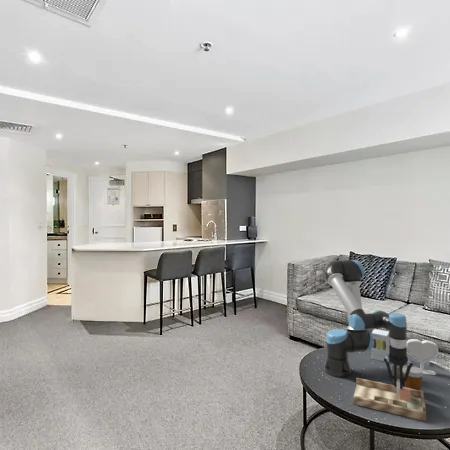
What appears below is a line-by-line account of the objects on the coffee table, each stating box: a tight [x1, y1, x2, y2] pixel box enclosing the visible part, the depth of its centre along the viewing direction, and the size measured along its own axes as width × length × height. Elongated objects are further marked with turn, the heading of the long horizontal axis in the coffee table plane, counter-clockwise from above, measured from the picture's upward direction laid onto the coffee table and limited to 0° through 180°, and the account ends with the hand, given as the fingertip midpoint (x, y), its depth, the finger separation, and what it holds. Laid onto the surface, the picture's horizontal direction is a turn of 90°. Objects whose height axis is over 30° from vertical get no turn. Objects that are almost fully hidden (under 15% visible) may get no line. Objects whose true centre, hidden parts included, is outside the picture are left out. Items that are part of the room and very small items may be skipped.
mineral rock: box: [390, 363, 407, 383], centre depth 175 cm, size 13×11×10 cm
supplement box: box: [371, 328, 390, 362], centre depth 203 cm, size 10×9×17 cm
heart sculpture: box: [406, 338, 439, 376], centre depth 185 cm, size 16×5×18 cm, turn 66°
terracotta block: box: [400, 386, 411, 402], centre depth 154 cm, size 4×4×4 cm
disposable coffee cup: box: [403, 364, 424, 391], centre depth 164 cm, size 10×10×12 cm
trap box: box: [352, 377, 427, 422], centre depth 155 cm, size 30×16×6 cm, turn 62°
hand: (398, 393), depth 156 cm, fingers closed
